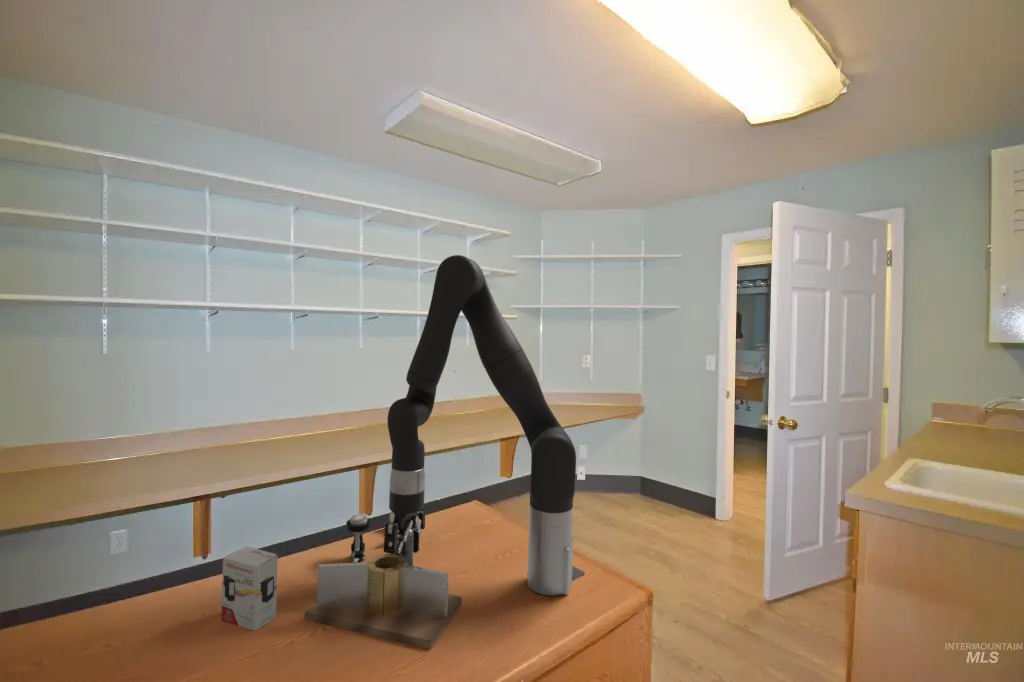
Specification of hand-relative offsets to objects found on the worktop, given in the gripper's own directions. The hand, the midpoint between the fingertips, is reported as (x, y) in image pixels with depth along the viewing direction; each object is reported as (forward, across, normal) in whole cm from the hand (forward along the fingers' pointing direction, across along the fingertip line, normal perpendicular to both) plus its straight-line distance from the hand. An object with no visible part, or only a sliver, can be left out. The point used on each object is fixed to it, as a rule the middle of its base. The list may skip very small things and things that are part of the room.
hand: (404, 559), depth 105 cm
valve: (+3, +17, +11) cm, 20 cm away
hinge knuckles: (+1, -15, -4) cm, 16 cm away
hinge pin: (+3, 0, 0) cm, 3 cm away
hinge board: (+3, -14, -4) cm, 15 cm away
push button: (+3, +1, +13) cm, 13 cm away
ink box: (+4, -24, +19) cm, 31 cm away
